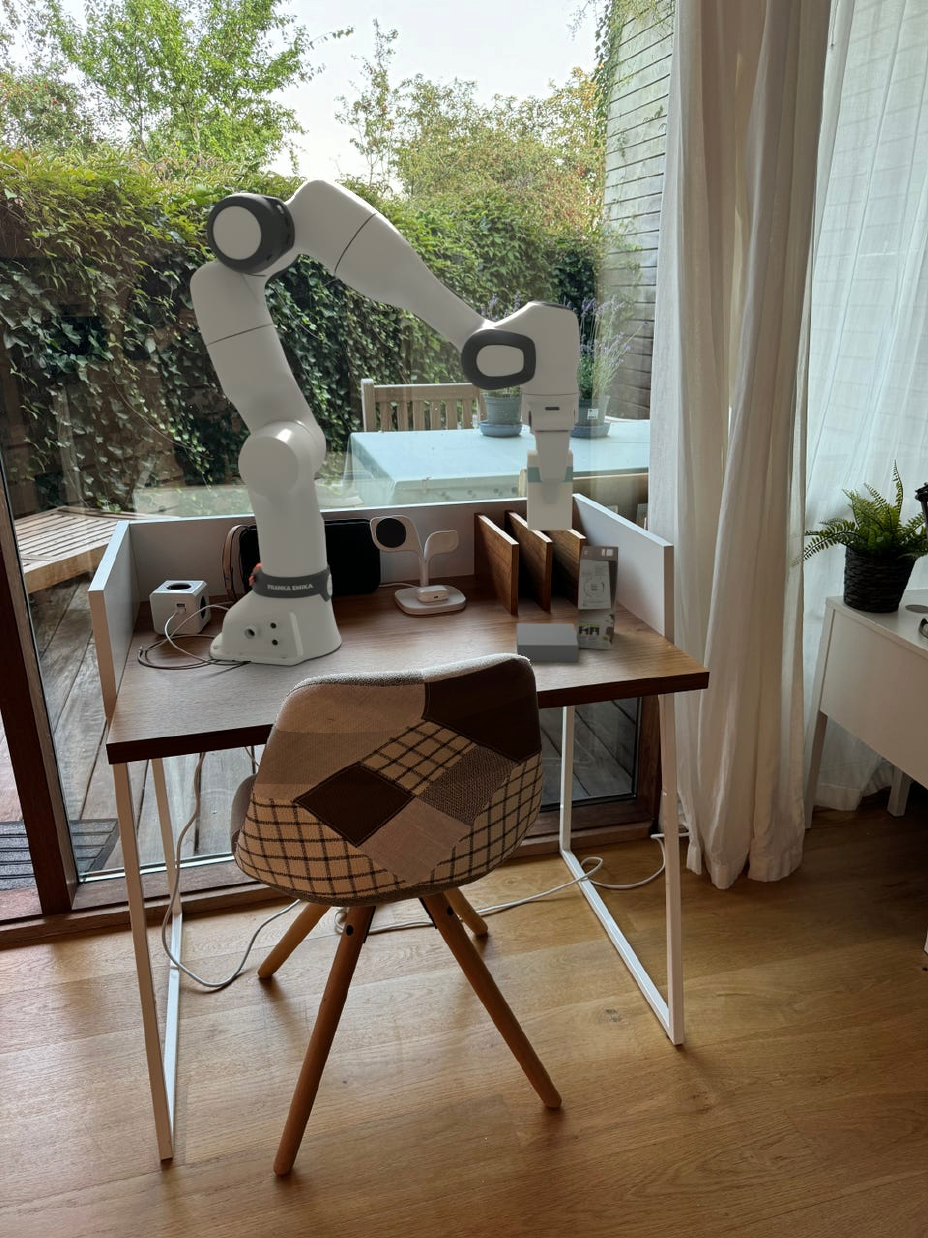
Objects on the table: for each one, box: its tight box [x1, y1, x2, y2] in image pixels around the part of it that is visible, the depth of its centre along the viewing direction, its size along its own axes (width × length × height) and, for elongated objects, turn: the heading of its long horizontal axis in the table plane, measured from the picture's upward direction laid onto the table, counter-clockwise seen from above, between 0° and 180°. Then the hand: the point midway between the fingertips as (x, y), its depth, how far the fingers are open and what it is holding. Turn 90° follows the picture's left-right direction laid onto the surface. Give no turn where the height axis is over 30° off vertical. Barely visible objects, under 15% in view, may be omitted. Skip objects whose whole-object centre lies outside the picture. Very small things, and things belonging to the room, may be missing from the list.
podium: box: [516, 623, 579, 663], centre depth 151 cm, size 10×10×3 cm
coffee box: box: [576, 545, 619, 651], centre depth 153 cm, size 9×6×16 cm
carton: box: [526, 449, 574, 532], centre depth 141 cm, size 7×5×12 cm
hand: (548, 498), depth 142 cm, fingers closed on carton, 5 cm apart
